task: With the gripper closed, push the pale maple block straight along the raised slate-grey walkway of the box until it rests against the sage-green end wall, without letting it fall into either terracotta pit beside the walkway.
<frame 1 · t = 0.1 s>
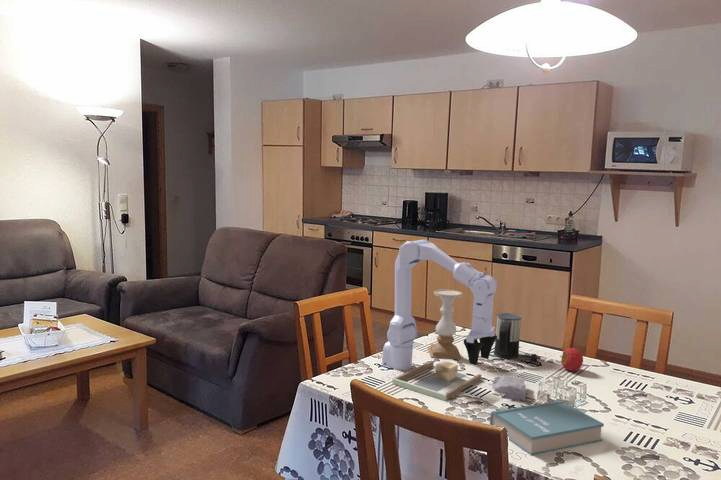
hand: (479, 360, 169), 10 cm above the table, tool pointing down, fingers open, 7 cm apart
book: (544, 435, 145), on the table
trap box: (437, 385, 175), on the table
candle holder: (444, 358, 202), on the table
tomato: (569, 370, 194), on the table
maple block: (446, 376, 179), point 1 cm above the table, touching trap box
milk frother: (516, 358, 205), on the table
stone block: (507, 393, 173), on the table
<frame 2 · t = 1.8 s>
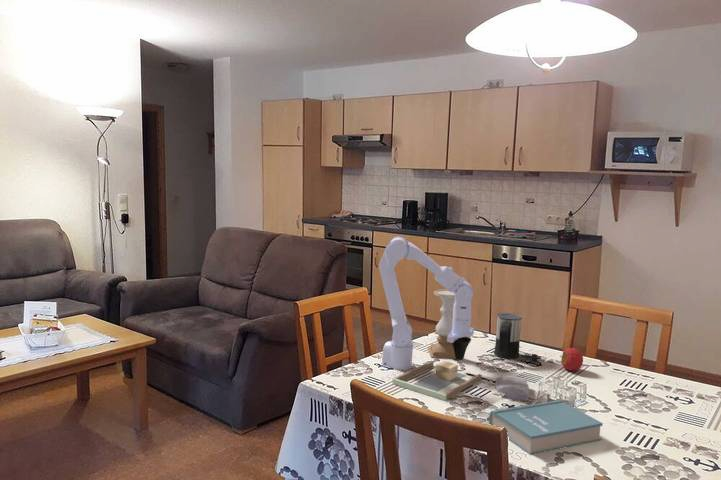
hand: (459, 359, 184), 5 cm above the table, tool pointing down, fingers closed
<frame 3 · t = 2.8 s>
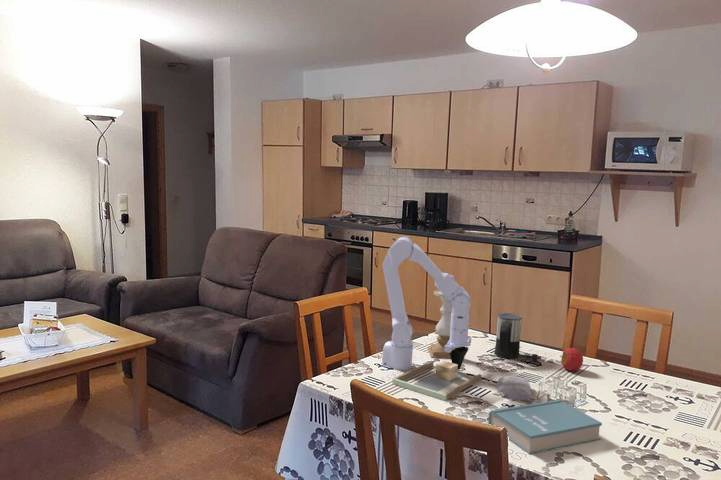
hand: (456, 368, 184), 2 cm above the table, tool pointing down, fingers closed
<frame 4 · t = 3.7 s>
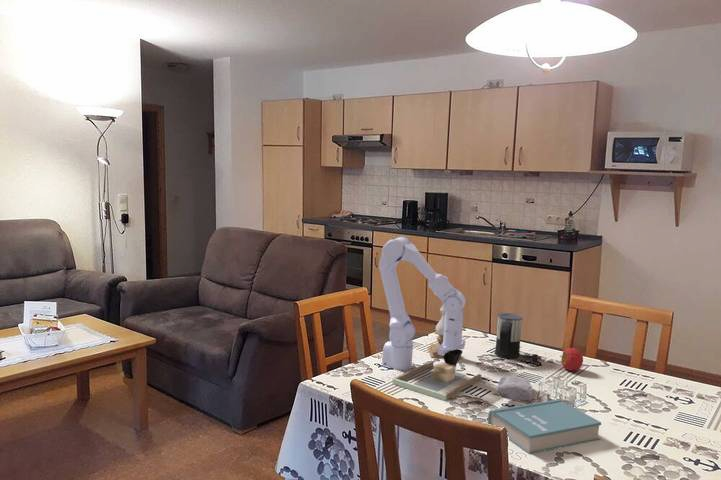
hand: (450, 372, 180), 2 cm above the table, tool pointing down, fingers closed
maple block: (444, 378, 177), point 2 cm above the table, touching gripper
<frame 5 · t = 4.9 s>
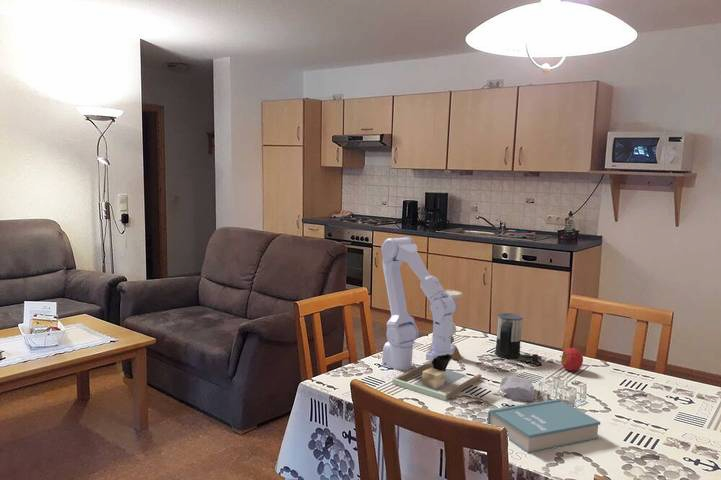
hand: (439, 377, 175), 2 cm above the table, tool pointing down, fingers closed
maple block: (432, 384, 172), point 2 cm above the table, touching gripper
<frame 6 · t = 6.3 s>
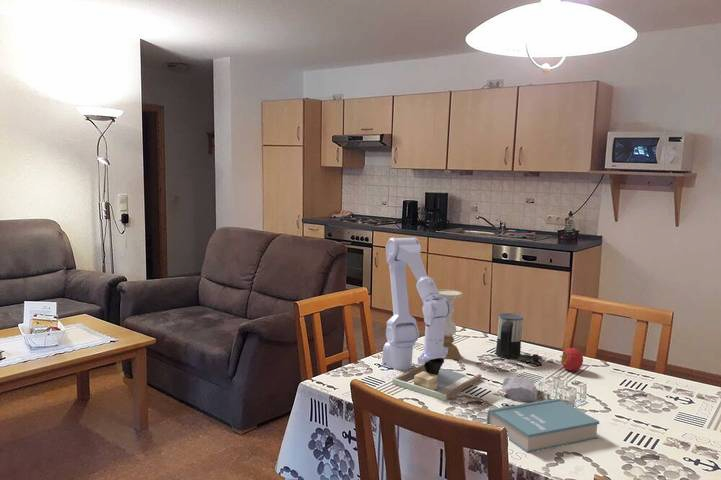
hand: (431, 381, 171), 2 cm above the table, tool pointing down, fingers closed
maple block: (425, 388, 168), point 1 cm above the table, touching gripper, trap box
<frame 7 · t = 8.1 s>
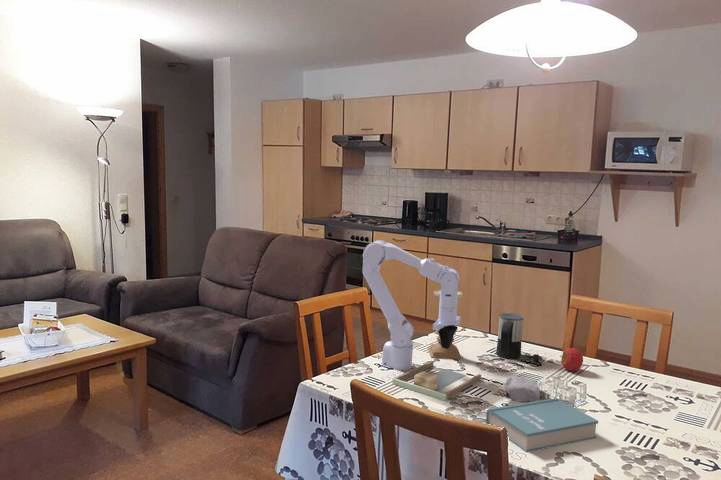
hand: (445, 347, 182), 9 cm above the table, tool pointing down, fingers closed
maple block: (425, 388, 168), point 1 cm above the table, touching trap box
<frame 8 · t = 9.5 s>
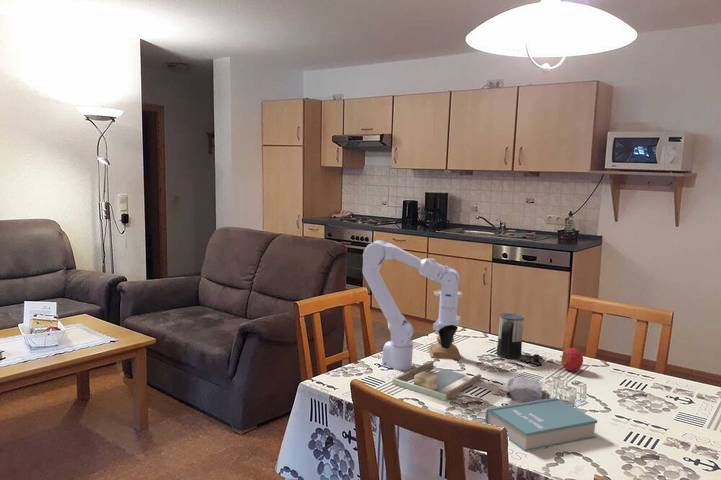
hand: (445, 347, 183), 9 cm above the table, tool pointing down, fingers closed
at the end: maple block 0.3 cm from the target spot, point 1.5 cm above the table; maple block tilted 0° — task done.
